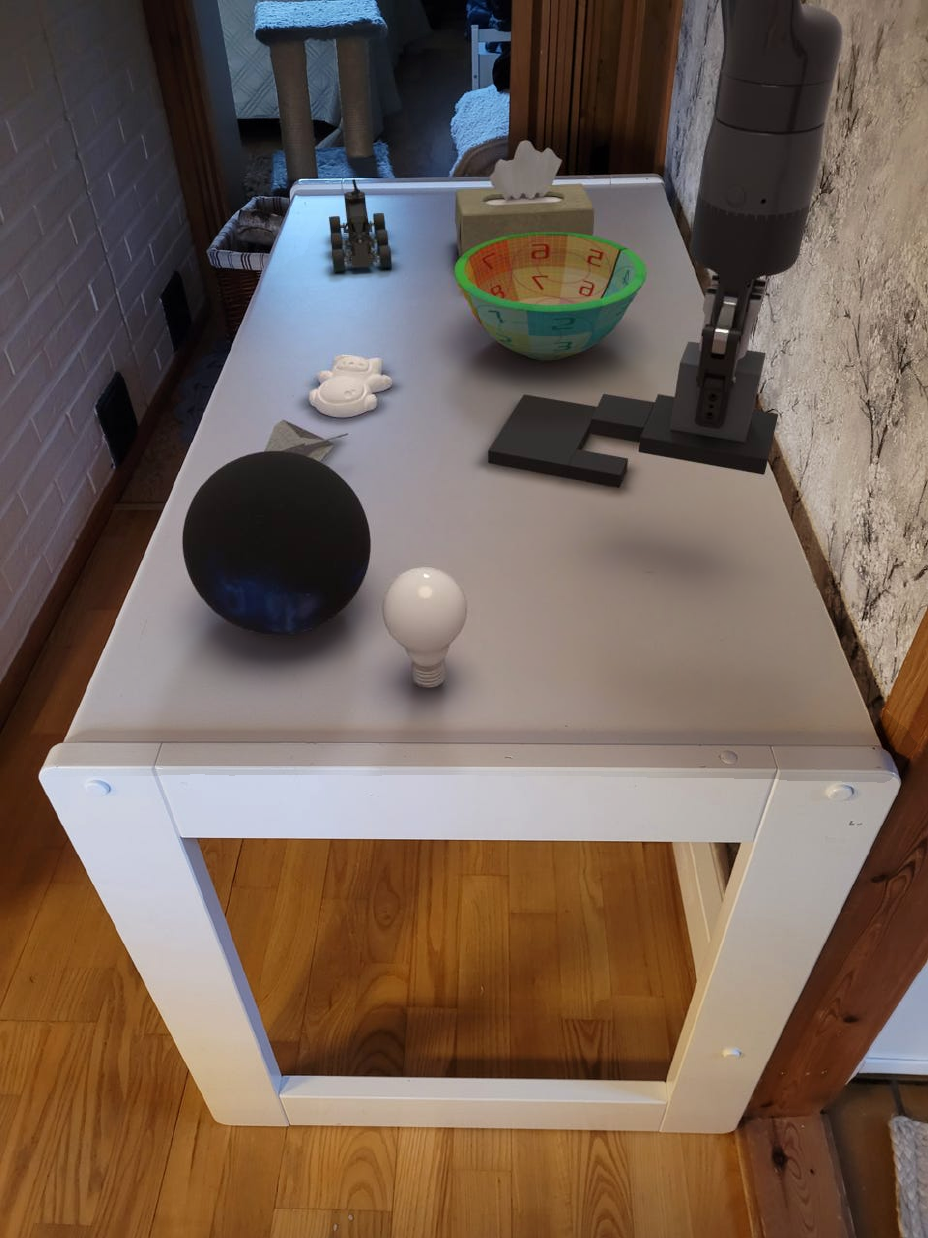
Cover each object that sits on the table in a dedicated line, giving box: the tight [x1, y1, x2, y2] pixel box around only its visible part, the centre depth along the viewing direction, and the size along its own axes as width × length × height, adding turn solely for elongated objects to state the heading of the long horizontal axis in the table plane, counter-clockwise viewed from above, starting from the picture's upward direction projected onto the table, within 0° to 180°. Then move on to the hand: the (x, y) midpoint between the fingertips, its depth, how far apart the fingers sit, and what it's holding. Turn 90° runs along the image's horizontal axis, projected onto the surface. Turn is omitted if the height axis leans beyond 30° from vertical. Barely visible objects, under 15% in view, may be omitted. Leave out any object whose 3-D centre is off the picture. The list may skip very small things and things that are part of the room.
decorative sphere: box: [181, 451, 372, 636], centre depth 78 cm, size 15×15×15 cm
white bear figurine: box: [308, 354, 393, 418], centre depth 110 cm, size 9×12×3 cm
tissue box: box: [454, 139, 595, 259], centre depth 133 cm, size 19×10×16 cm, turn 95°
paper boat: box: [263, 419, 349, 462], centre depth 97 cm, size 12×6×9 cm
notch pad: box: [487, 393, 629, 488], centre depth 101 cm, size 14×12×2 cm
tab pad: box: [589, 341, 779, 476], centre depth 76 cm, size 14×7×8 cm, turn 70°
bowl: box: [453, 232, 648, 361], centre depth 114 cm, size 22×22×10 cm
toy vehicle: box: [328, 178, 393, 273], centre depth 137 cm, size 8×15×9 cm, turn 8°
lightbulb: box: [381, 566, 468, 688], centre depth 73 cm, size 6×6×11 cm
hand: (713, 410), depth 76 cm, fingers closed on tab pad, 3 cm apart
